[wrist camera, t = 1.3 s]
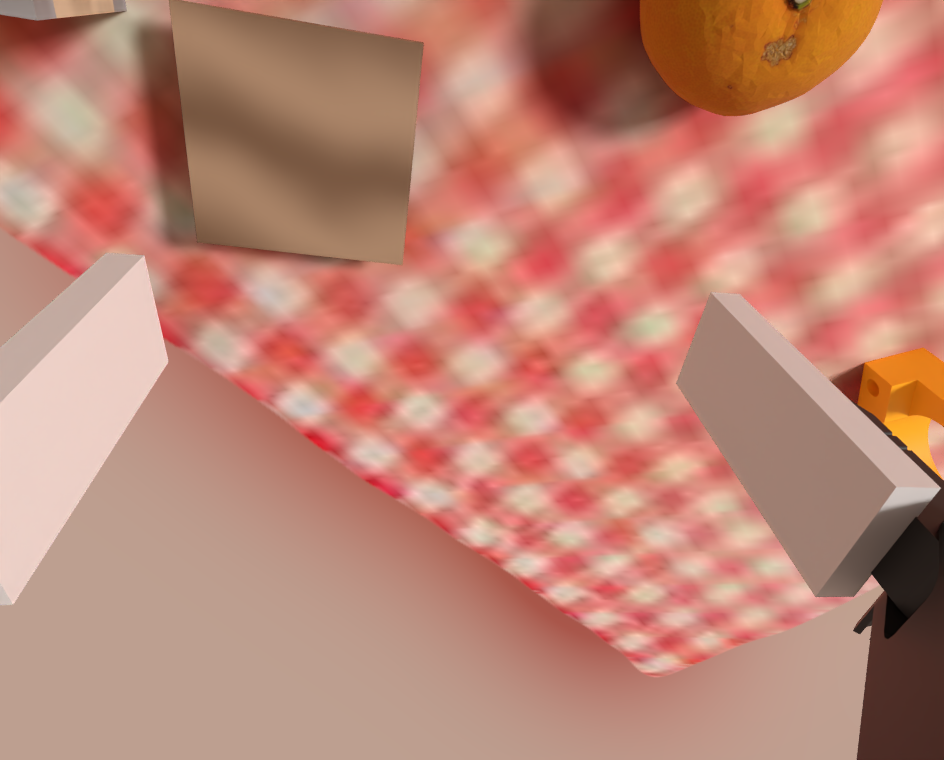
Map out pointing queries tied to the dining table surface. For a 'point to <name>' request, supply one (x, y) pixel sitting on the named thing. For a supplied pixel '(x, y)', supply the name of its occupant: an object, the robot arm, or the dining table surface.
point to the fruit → (751, 47)
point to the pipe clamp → (906, 397)
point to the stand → (296, 132)
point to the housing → (58, 8)
